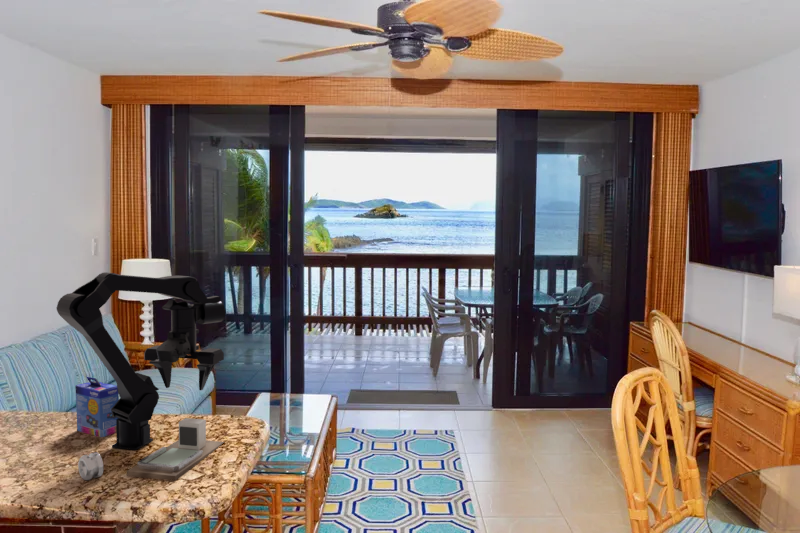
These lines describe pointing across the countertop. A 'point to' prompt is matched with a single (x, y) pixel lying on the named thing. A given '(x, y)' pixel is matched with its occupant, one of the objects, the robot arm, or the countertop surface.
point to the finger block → (192, 433)
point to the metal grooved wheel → (90, 466)
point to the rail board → (174, 461)
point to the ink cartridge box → (96, 407)
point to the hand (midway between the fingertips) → (184, 388)
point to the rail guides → (162, 467)
